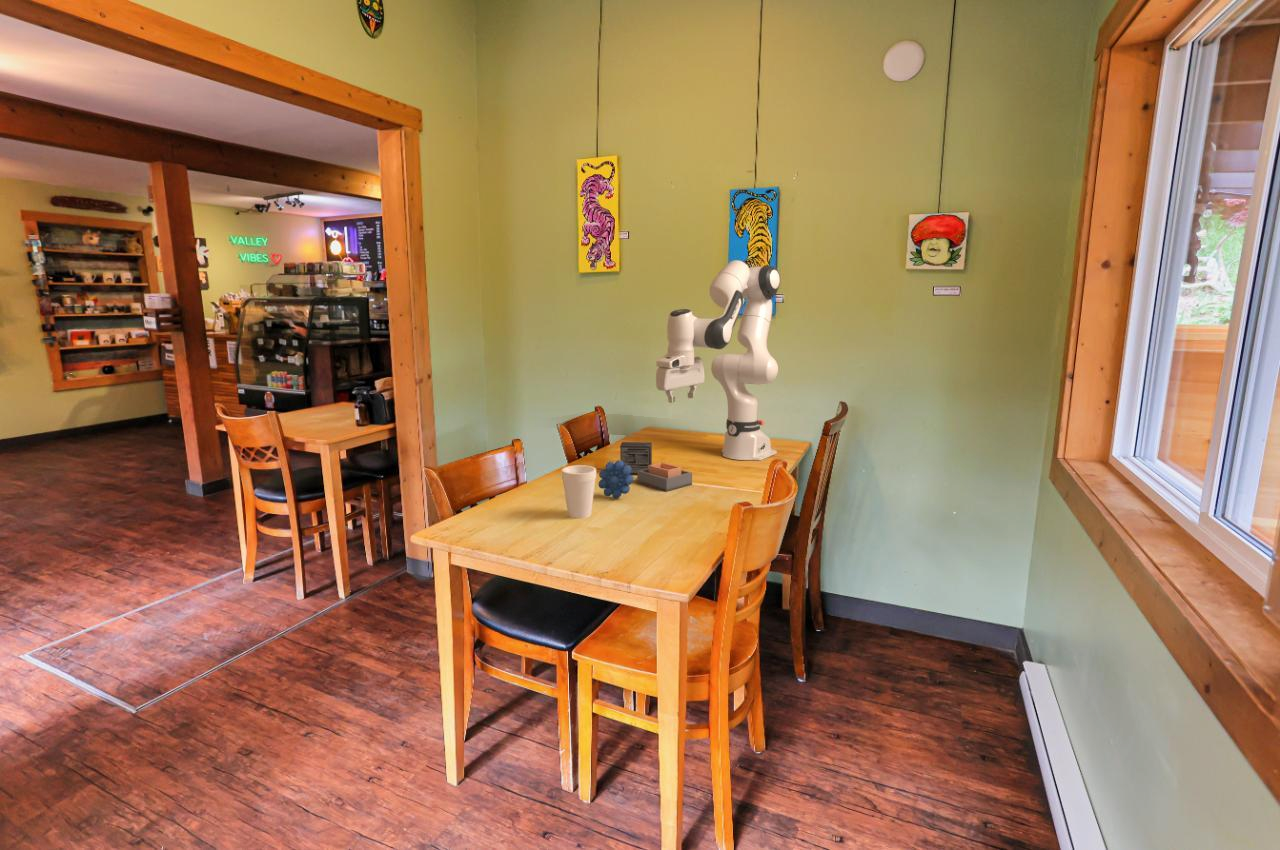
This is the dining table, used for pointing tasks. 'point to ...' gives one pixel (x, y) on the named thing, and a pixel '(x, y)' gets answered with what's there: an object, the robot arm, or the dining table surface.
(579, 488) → the foam cup
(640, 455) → the small box
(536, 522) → the dining table surface
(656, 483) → the box
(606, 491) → the grapes
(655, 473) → the small crate
